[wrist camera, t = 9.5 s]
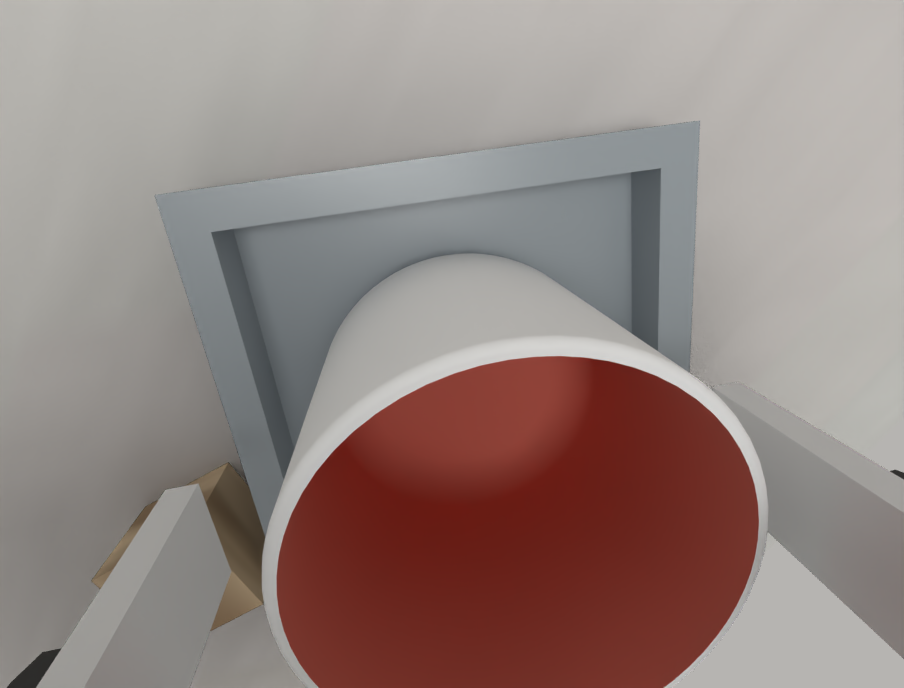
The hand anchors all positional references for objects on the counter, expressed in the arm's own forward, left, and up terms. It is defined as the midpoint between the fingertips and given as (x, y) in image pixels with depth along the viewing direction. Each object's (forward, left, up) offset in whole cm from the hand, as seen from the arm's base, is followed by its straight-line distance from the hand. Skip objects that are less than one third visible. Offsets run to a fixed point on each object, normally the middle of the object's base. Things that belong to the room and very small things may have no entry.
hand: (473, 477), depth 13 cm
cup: (0, 0, -7) cm, 7 cm away
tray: (+1, 0, -8) cm, 8 cm away
